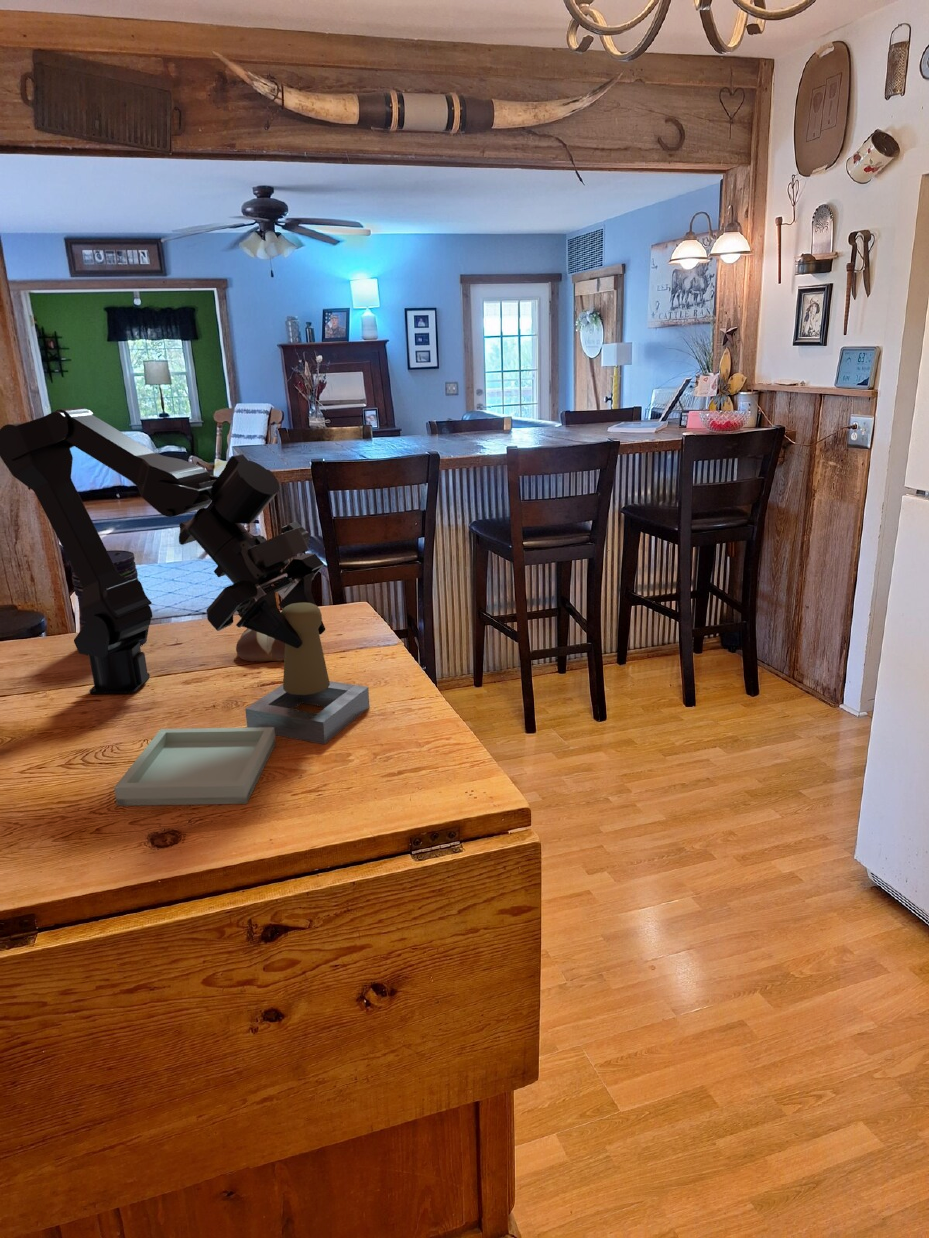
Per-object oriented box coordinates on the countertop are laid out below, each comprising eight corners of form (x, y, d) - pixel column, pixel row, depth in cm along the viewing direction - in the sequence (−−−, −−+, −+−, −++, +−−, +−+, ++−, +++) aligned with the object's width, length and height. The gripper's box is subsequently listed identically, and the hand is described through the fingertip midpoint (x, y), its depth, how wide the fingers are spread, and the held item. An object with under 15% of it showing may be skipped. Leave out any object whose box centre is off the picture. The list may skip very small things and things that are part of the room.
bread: (302, 664, 126) (300, 634, 124) (230, 665, 126) (226, 635, 125) (316, 639, 137) (314, 611, 135) (249, 640, 137) (246, 612, 135)
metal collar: (247, 729, 104) (245, 708, 103) (297, 695, 114) (295, 675, 113) (324, 744, 100) (323, 722, 99) (369, 707, 110) (368, 686, 109)
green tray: (117, 805, 87) (114, 787, 87) (163, 745, 101) (160, 728, 100) (246, 803, 87) (244, 785, 86) (275, 743, 100) (274, 727, 100)
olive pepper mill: (285, 677, 108) (278, 598, 105) (331, 675, 109) (326, 597, 105) (279, 695, 103) (272, 613, 99) (328, 693, 103) (322, 611, 99)
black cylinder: (108, 658, 129) (93, 568, 125) (71, 648, 134) (55, 560, 130) (160, 640, 137) (147, 554, 133) (123, 630, 142) (110, 547, 137)
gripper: (216, 520, 91) (307, 624, 91) (306, 493, 108) (384, 581, 107) (169, 581, 97) (254, 679, 96) (262, 546, 113) (335, 630, 113)
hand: (311, 639), depth 103 cm, fingers closed on olive pepper mill, 5 cm apart
